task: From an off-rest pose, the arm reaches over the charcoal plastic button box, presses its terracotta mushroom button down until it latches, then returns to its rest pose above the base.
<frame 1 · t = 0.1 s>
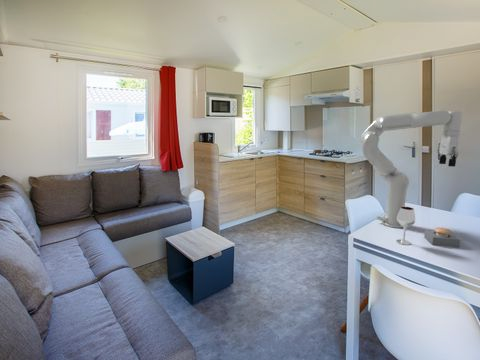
hand: (446, 165, 165), 36 cm above the table, tool pointing down, fingers open, 9 cm apart
button box: (441, 242, 151), on the table
button: (442, 234, 150), point 4 cm above the table, slide at 0.0 cm
wineglass: (403, 242, 150), on the table
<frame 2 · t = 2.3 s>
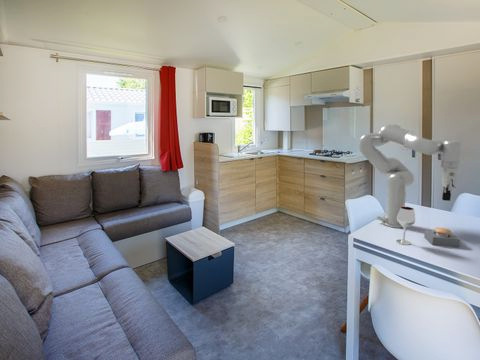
hand: (446, 200, 153), 20 cm above the table, tool pointing down, fingers closed
nothing on the table moved.
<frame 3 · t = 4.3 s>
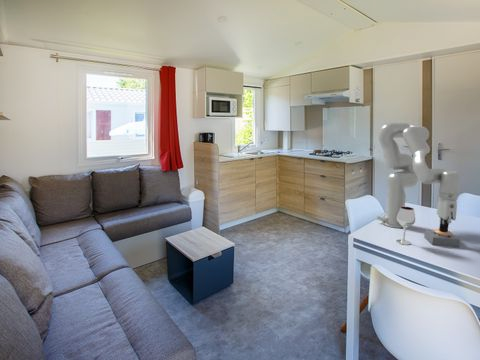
hand: (443, 231, 149), 6 cm above the table, tool pointing down, fingers closed
button: (441, 235, 150), point 3 cm above the table, slide at 0.7 cm, touching gripper
everything else where it was.
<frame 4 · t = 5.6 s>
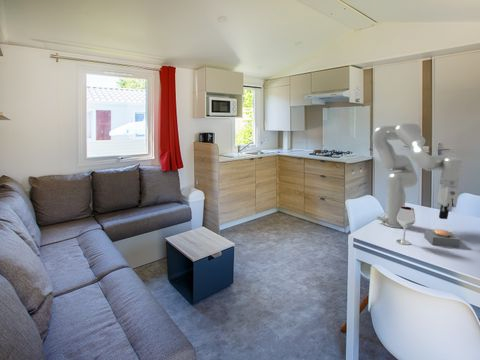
hand: (442, 218, 149), 12 cm above the table, tool pointing down, fingers closed
button: (441, 236, 150), point 3 cm above the table, slide at 1.0 cm
everything else where it was.
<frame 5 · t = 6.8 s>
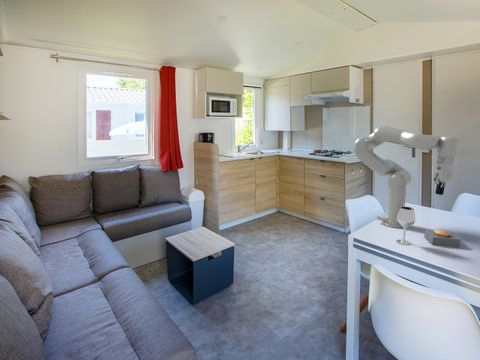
hand: (439, 194, 158), 22 cm above the table, tool pointing down, fingers closed
nothing on the table moved.
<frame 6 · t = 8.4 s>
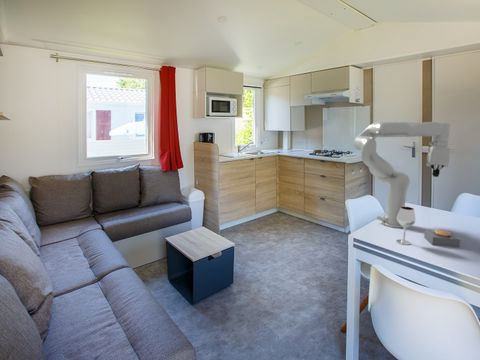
hand: (435, 176, 171), 29 cm above the table, tool pointing down, fingers closed
nothing on the table moved.
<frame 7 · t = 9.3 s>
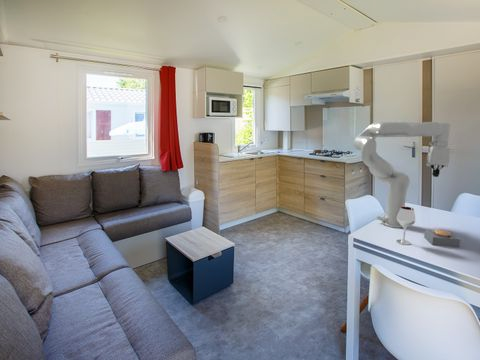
hand: (435, 176, 171), 29 cm above the table, tool pointing down, fingers closed
nothing on the table moved.
at the end: button slide at 1.0 cm; wineglass moved 0.2 cm from its start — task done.
